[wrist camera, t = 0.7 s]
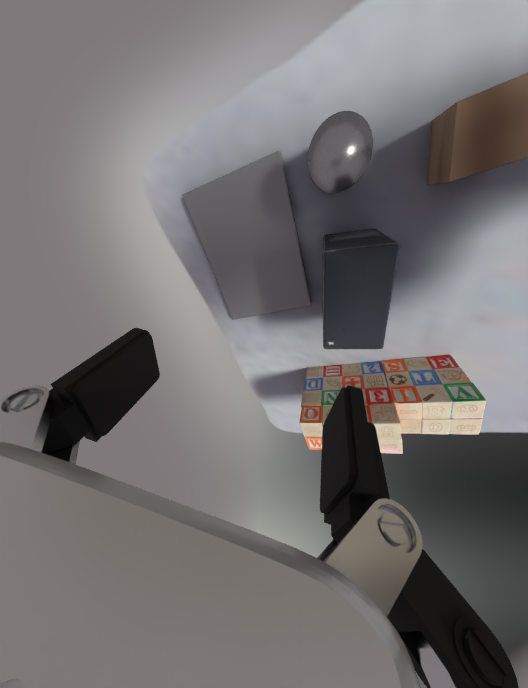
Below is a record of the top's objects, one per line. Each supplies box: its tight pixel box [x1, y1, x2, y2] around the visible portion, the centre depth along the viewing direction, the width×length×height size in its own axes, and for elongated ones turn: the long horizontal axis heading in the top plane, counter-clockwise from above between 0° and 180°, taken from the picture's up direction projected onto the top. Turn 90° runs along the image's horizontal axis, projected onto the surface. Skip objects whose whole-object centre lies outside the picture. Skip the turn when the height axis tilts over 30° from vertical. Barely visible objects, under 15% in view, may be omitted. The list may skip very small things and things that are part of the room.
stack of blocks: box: [300, 355, 486, 454], centre depth 32 cm, size 21×6×12 cm, turn 109°
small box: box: [323, 229, 400, 349], centre depth 25 cm, size 11×6×10 cm, turn 9°
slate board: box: [182, 151, 311, 320], centre depth 30 cm, size 13×18×1 cm
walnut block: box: [428, 73, 528, 185], centre depth 18 cm, size 5×5×5 cm
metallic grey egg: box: [308, 111, 373, 193], centre depth 20 cm, size 5×5×7 cm
